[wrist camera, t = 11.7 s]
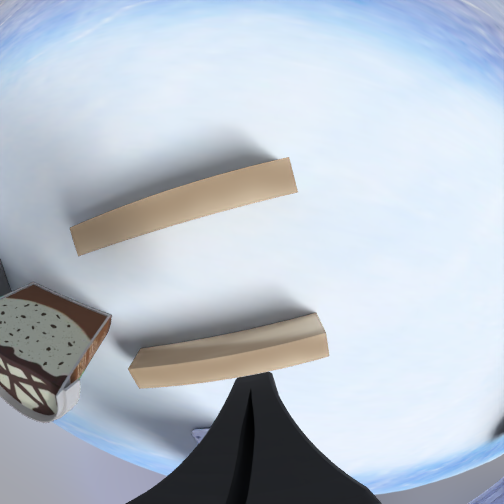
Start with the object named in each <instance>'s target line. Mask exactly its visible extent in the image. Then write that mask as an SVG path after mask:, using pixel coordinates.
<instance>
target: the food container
mask: <svg viewBox="0 0 504 504" xmlns="http://www.w3.org/2000/svg"><path fill="white" fill-rule="evenodd" d="M111 317H112V315H110V314H107V313H105V312H102V311H100V310H97V309H94V308H92V307H89V306H87V305H84V304H82V303H80V302H77V301H75V300H72V299H70V298H68V297H66V296H63V295H61V294H59V293H57V292H54V291H52V290H50V289H48V288H46V287H44V286H41V285H39V284H37V283H35V282H32V283H30V284H28V285H25V286H23V287H21V288H19V289H17V290H14V291H12V292H10V293H8V294H6V295H4V296H2V297H0V397H1V398H2V399H3V400H5V402H7V403H8V404H9V405H10V406H11V407H13V408H14V409H15V410H17V411H18V412H19V413H21V414H22V415H24V416H26V417H28V418H30V419H32V420H35V421H38V422H42V423H49V422H52V421H54V420H56V419H59V418H61V417H62V416H64V415H65V414H66V413H67V412H68V411H70V410H71V409H72V408H73V407H74V406H75V405H76V404H77V402H78V400H79V398H80V390H81V387H80V377H81V376H82V374H83V372H84V371H85V369H86V367H87V365H88V364H89V362H90V361H91V359H92V357H93V356H94V354H95V352H96V351H97V349H98V348H99V346H100V344H101V343H102V341H103V340H104V338H105V337H106V335H107V333H108V331H109V328H110V325H111Z"/></svg>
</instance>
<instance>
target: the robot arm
mask: <svg viewBox="0 0 504 504" xmlns="http://www.w3.org/2000/svg"><path fill="white" fill-rule="evenodd" d="M192 435H193V437H194V438H195V440H196V441H197V442H198V445H197V447H196V448H195V449H194V450H193V451H192V453H191V454H190V455H189V456H188V457H187V458H186V459H185V460H184V461H183V462H182V463H181V464H180V465H179V466H178V467H177V468H176V469H175V470H174V471H173V472H172V473H171V474H169V475H168V476H167V477H166V478H164V479H163V480H162V481H161V482H159V483H158V484H157V485H155V486H154V487H153V488H151V489H150V490H148V491H147V492H145V493H144V494H142V495H140V496H138V497H137V498H135V499H133V500H131V501H129V502H128V503H126V504H381V502H380V501H379V500H378V499H377V498H376V497H375V495H374V494H373V493H372V492H371V491H370V490H369V489H368V488H367V487H366V486H364V485H363V484H361V483H359V482H358V481H356V480H355V479H353V478H352V477H351V476H349V475H348V474H346V473H345V472H344V471H342V470H341V469H340V468H339V467H337V466H336V465H335V464H334V463H333V462H331V461H330V460H329V459H328V458H327V457H326V456H325V455H324V454H323V453H322V452H321V451H319V450H318V449H317V448H316V446H315V445H314V444H313V443H312V442H311V441H310V440H309V439H308V438H307V437H306V435H305V434H304V433H303V432H302V431H301V429H300V428H299V427H298V425H297V424H296V423H295V421H294V420H293V418H292V417H291V416H290V414H289V413H288V411H287V409H286V408H285V406H284V404H283V402H282V401H281V399H280V397H279V395H278V391H277V388H276V385H275V381H274V378H273V375H272V373H270V372H265V373H260V374H255V375H250V376H244V377H239V378H237V379H236V380H235V383H234V385H233V387H232V389H231V391H230V394H229V396H228V398H227V400H226V402H225V404H224V405H223V407H222V409H221V411H220V413H219V414H218V416H217V418H216V420H215V421H214V423H213V424H212V426H211V427H210V428H208V429H195V430H192ZM468 504H504V477H503V478H501V479H500V480H499V481H498V482H497V483H495V484H494V485H493V486H491V487H490V488H489V489H488V490H486V491H485V492H484V493H482V494H481V495H480V496H478V497H477V498H475V499H474V500H472V501H471V502H469V503H468Z"/></svg>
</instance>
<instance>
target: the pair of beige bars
mask: <svg viewBox="0 0 504 504" xmlns="http://www.w3.org/2000/svg"><path fill="white" fill-rule="evenodd" d="M297 192H298V191H297V187H296V183H295V179H294V175H293V171H292V167H291V163H290V159H289V157H287V158H283V159H278V160H274V161H270V162H266V163H261V164H257V165H253V166H249V167H245V168H242V169H238V170H234V171H230V172H227V173H223V174H219V175H216V176H212V177H209V178H206V179H202V180H199V181H196V182H192V183H189V184H186V185H183V186H179V187H176V188H173V189H170V190H167V191H164V192H161V193H158V194H155V195H152V196H149V197H147V198H144V199H141V200H138V201H135V202H133V203H130V204H127V205H125V206H122V207H119V208H117V209H114V210H111V211H109V212H106V213H104V214H101V215H99V216H96V217H94V218H91V219H89V220H87V221H84V222H82V223H80V224H77V225H75V226H73V227H70V231H71V235H72V238H73V241H74V245H75V248H76V251H77V254H78V256H81V255H83V254H86V253H89V252H92V251H95V250H98V249H101V248H104V247H107V246H110V245H113V244H116V243H119V242H122V241H125V240H128V239H131V238H134V237H137V236H140V235H143V234H147V233H150V232H153V231H156V230H160V229H163V228H166V227H169V226H173V225H176V224H180V223H183V222H186V221H190V220H193V219H197V218H200V217H204V216H207V215H211V214H215V213H218V212H222V211H226V210H229V209H233V208H237V207H241V206H244V205H248V204H252V203H256V202H260V201H264V200H268V199H272V198H276V197H280V196H284V195H288V194H293V193H297ZM328 356H329V350H328V343H327V337H326V332H325V330H324V328H323V326H322V324H321V322H320V319H319V317H318V315H317V313H313V314H309V315H306V316H302V317H298V318H294V319H290V320H286V321H282V322H278V323H274V324H270V325H266V326H261V327H257V328H252V329H248V330H243V331H239V332H234V333H229V334H224V335H219V336H214V337H209V338H203V339H198V340H192V341H186V342H180V343H174V344H168V345H161V346H155V347H148V348H141V349H140V350H139V352H138V354H137V355H136V357H135V358H134V360H133V362H132V363H131V365H130V367H129V368H128V370H129V372H130V374H131V375H132V377H133V379H134V380H135V382H136V384H137V385H138V387H139V389H140V388H156V387H168V386H179V385H188V384H196V383H204V382H211V381H218V380H225V379H231V378H237V377H242V376H248V375H253V374H258V373H263V372H268V371H273V370H277V369H282V368H286V367H290V366H294V365H298V364H302V363H306V362H310V361H314V360H317V359H321V358H324V357H328Z"/></svg>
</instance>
